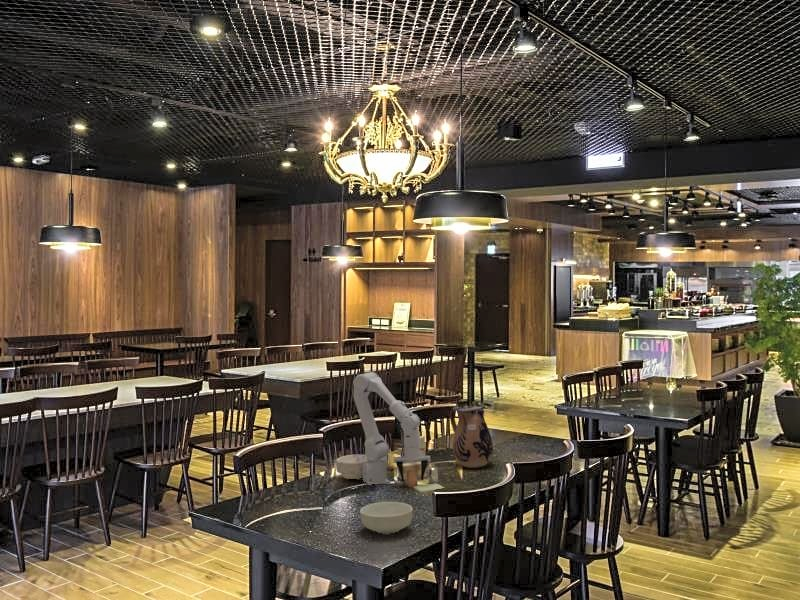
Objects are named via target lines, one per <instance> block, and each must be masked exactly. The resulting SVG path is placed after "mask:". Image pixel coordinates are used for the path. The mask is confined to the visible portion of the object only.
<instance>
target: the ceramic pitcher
mask: <svg viewBox="0 0 800 600" xmlns="http://www.w3.org/2000/svg"><path fill="white" fill-rule="evenodd" d="M455 412H457V413H458V421H457V422H456V417H455ZM449 420H450V424H451V427H452V430H453V432H454V436H453V440H452V453H453V456H454V458H455V460H456V461H457V462H458V464H460V465H461V466H462V467H465V468H469V469H477V468H481V467H485V466H487V464H488V463H489V462H490V461H491V459H492V458H493V454H494V443H493V440H492V439H493V438H492V436H491V434H490V430H489V428H488V424H487V422H486V420H485V410H484V407H483V406H455V407H453V408H451V409H450V412H449Z"/></svg>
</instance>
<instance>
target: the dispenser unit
mask: <svg viewBox="0 0 800 600" xmlns="http://www.w3.org/2000/svg"><path fill="white" fill-rule="evenodd" d="M428 467H430V463H429V462H428V465H427V468H426V470H425V473H424V478H423V480H425V479H428ZM397 469H398V468H397ZM410 469H415V470H417V481H418V480H421V462H412V463H405V462H404V463H403V477H404V481H403V482H407V470H410ZM397 472H398V476H397V477H396V479H397V480H398V479H399V480H398V481H400V482H401V481H402V478H401V474H400V472H399V469H398V471H397Z"/></svg>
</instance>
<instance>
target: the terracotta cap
mask: <svg viewBox="0 0 800 600" xmlns="http://www.w3.org/2000/svg"><path fill="white" fill-rule="evenodd" d="M418 484H419V483H418V480H417V470H415V469H410V470H407V481H406V485H407V487H408V488H414V487H415V486H419V485H418Z"/></svg>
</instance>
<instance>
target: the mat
mask: <svg viewBox="0 0 800 600" xmlns="http://www.w3.org/2000/svg"><path fill="white" fill-rule="evenodd" d="M442 488H445V487H444V486H442V485H441V484H439V483H438V484H437V483H436V484H429V483H428V484H424V485H418V486H415V487H413V489H415V491H418V492H419V493H421V494H422V493H428V492H429V493H430V492H435V491H434V490H436V489H442Z"/></svg>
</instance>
